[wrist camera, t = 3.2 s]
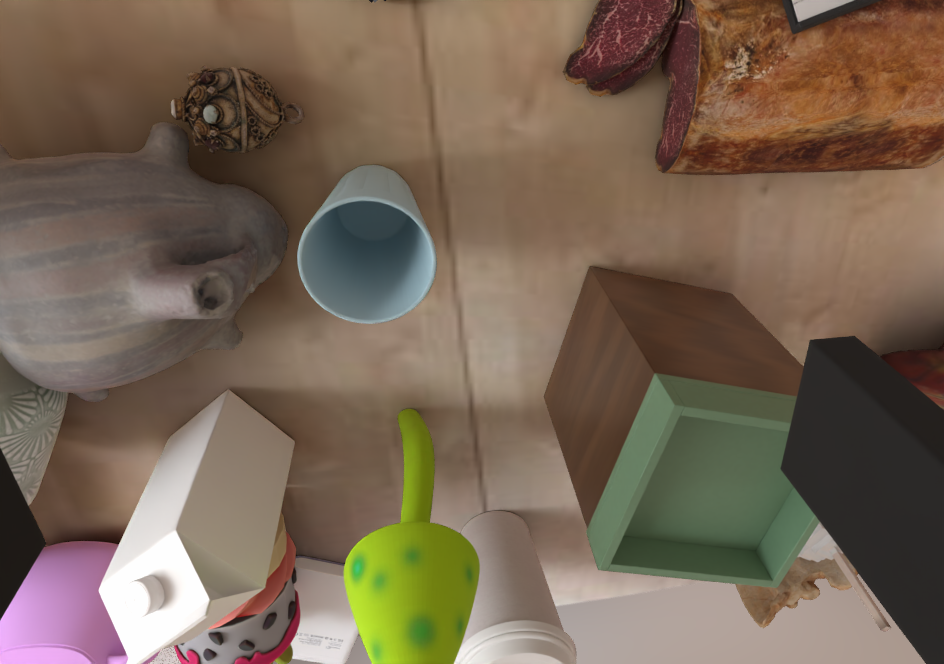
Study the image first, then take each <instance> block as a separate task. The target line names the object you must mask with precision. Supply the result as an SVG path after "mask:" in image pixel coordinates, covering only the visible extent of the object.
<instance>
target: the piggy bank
mask: <svg viewBox="0 0 944 664" xmlns="http://www.w3.org/2000/svg"><path fill="white" fill-rule="evenodd" d="M188 152H189V139H188V136H187V133H186V132H185V131H184V130H183V129H182V128H181V127H179V126H178V125H176V124H173V123H168V122H159V123H156V124H154V125H153V126H152V127H151V132H150V135H149V137H148V139H147V142H146V143H145V145H144V147H143V148H142V149H141V150H139V151H137V152H134V153H113V152H98V153H77V154H70V155H64V156H56V157H42V158H30V159H20V160H17V159H12V157H11V156H10V155H9V153H8V152H7V151H6V149H5V148H4V147H3V146H2V144H0V351H1V353H2V354H3V355H4V357H5V358H6V359H7V361H8V362H9V363H10V364H11V365H12V367H13V368H14V369H15V370H16V371H17V372H18V373H20V374H21V375H22V376H24V377H26V378H27V379H29V380H30V381H32V382H34V383H36V384H38V385H40V386H42V387H44V388H47V389H50V390H55V391H60V392H70V393H74V394H75V395H77V396H78V397H79V398H81V399H83V400H86V401H91V402H99V401H102V400H104V399H106V398H107V396H108V395H109V390H108V388H112V387H117V386H121V385H125V384H129V383H132V382H135V381H138V380H141V379H144V378H146V377H149V376H151V375H154V374H156V373H158V372H160V371H163V370H165V369H167V368H169V367H171V366H173V365H175V364H177V363H178V362H180V361H182V360H184V359H186V358H188V357H189V356H191V355H192V354H194V353H196V352H197V351H199V350H201V349H224V350H233V349H235V348H237V347H238V346H239V344H240V342H241V341H242V338H243V333H242V332H241V331H240V330H239V328H238V327H237V324H236V323H235V320H234V316H235V314H236V312H237V310H238V309H239V308H240V307H241V305H242V303H243V302H244V301H245V299H246V298H247V296H248V295H249V294H250V292H251V293H253V292H255V288H256V287H257V286H258V285H260V284H261V283H263V282H264V281H266V280H267V279H268V278H269V277H270V276H271V275H272V274H273V273H274V272H275V270H276V269H277V268H278V266H279V265H280V263H281V262H282V260H283V257H284V254H285V251H286V248H287V247H286V246H287V241H288V229H287V225H286V223H285V221H284V220H283V219H282V216H281V215H280V214H279V213H278V212H277V211H276V209H275V208H274V207H273V206H272V205H271V204H270V203H269V202H268V201H267V200H266V199H264V198H263V197H261V196H260V195H258V194H256V193H255V192H254V191H251V190H250V189H247V188H244V187H243V186H239V185H235V184H218V183H214V182H211V181H209V180H207V179H205V178H203V177H202V176H200V175H198V174H197V173H195V172H194V171H192V170H191V168H190V167H189V164H188V158H187V157H188Z"/></svg>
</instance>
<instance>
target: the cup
mask: <svg viewBox="0 0 944 664" xmlns="http://www.w3.org/2000/svg"><path fill="white" fill-rule="evenodd" d="M297 261H298V269H299V273H300V277H301V280H302V282H303V284H304V286H305V288H306V290H307V291H308V293H309V294H310V295H311V297H312V298H313V299H314V300H315V301H316V302H317V303H318V304H319V305H320V306H321V307H322V308H324V309H325V310H327V311H328V312H330V313H331V314H333V315H335V316H337V317H339V318H342V319H345V320H347V321H351V322H356V323H364V324H374V323H383V322H387V321H391V320H394V319H397V318H399V317H401V316H403V315H405V314H407V313H408V312H410V311H411V310H413V309H414V308H415V307H416V306H417V305H418V304H419V303H420V302H421V301H422V300H423V299H424V298H425V296H426V295H427V293H428V292H429V290H430V288H431V286H432V284H433V281H434V278H435V273H436V267H437V258H436V250H435V246H434V242H433V240H432V237H431V235H430V233H429V230H428V228H427V226H426V224H425V222H424V220H423V217H422V215H421V213H420V210H419V208H418V206H417V203H416V201H415V199H414V196H413V194H412V192H411V190H410V188H409V186H408V184H407V183H406V182H405V180H403V179H402V178H401V176H400V175H399V174H398V173H396V172H395V171H393V170H391V169H388V168H386V167H383V166H380V165H364V166H360V167H357V168H355V169H354V170H352V171H350V172H348V173H346V174H345V175H344V176H343V177H342V179H341V180H340V181H339V183H338V184H337V185H336V187H335V188H334V190H333V191H332V192H331V194H330V195H329V197H328V198H327V199H326V201H325V202H324V204H323V205H322V206H321V208H320V209H319V210H318V211H317V212H316V214H315V215H314V216H313V218H312V219H311V221H310V222H309V223H308V225H307V226H306V228H305V230H304V232H303V234H302V236H301V239H300V242H299V246H298V253H297Z"/></svg>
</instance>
